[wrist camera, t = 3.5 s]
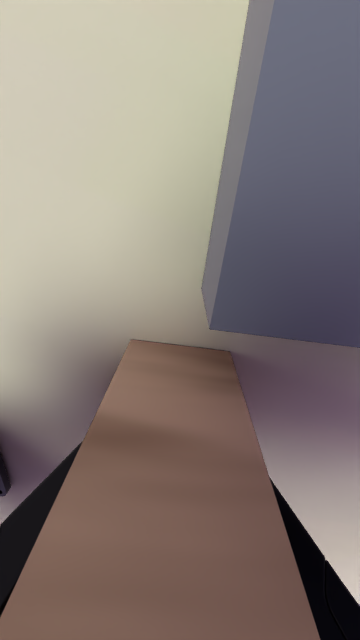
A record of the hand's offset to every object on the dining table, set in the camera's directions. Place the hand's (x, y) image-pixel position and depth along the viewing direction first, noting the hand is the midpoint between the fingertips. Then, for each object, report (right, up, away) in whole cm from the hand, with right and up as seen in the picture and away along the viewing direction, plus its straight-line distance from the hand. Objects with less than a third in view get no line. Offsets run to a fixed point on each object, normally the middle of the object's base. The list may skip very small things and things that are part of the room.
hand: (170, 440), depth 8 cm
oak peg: (0, +1, +3) cm, 3 cm away
